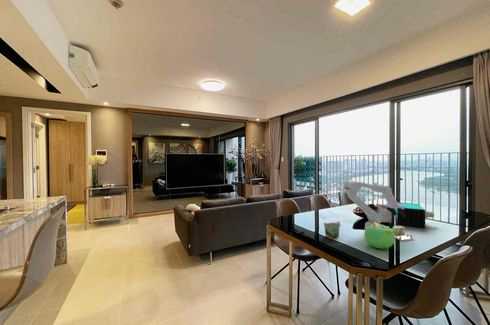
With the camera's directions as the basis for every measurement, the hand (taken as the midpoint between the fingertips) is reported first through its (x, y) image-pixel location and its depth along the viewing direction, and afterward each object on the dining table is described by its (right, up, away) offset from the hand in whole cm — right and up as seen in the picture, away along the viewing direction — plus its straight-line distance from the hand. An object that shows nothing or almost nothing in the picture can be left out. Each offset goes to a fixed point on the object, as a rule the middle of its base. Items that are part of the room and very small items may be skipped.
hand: (400, 215), depth 158 cm
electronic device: (+28, -13, +22) cm, 37 cm away
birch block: (-2, -13, -1) cm, 13 cm away
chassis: (-6, -13, -12) cm, 18 cm away
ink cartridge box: (+7, -13, +29) cm, 33 cm away
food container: (-52, -13, -7) cm, 54 cm away
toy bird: (-31, -13, -26) cm, 42 cm away
